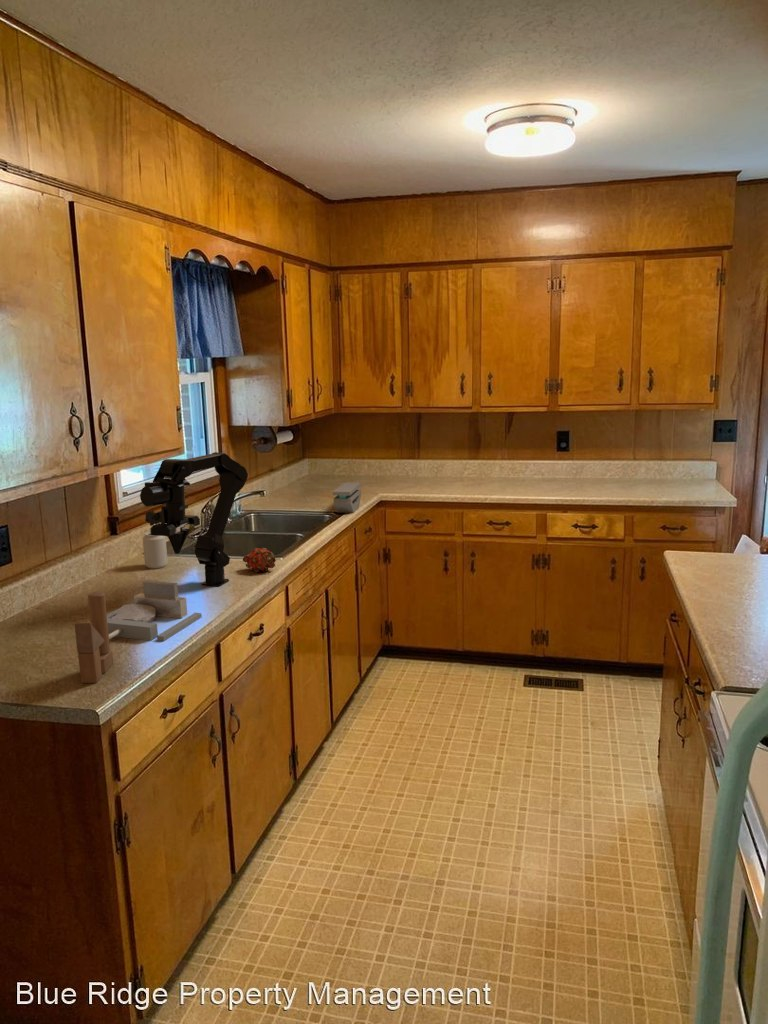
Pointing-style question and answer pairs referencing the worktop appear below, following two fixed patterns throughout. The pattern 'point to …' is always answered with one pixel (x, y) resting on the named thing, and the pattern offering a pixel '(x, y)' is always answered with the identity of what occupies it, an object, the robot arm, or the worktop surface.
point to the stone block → (136, 613)
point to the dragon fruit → (260, 560)
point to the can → (154, 551)
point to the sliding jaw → (163, 599)
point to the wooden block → (94, 641)
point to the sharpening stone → (347, 497)
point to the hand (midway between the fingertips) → (177, 553)
